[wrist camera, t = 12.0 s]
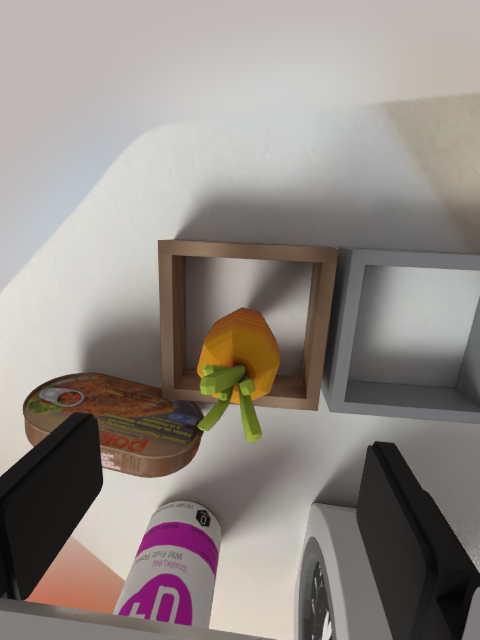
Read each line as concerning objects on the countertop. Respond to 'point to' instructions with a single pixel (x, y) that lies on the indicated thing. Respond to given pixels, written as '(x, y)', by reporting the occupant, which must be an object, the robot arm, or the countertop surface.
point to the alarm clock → (336, 581)
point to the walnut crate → (173, 319)
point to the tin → (120, 421)
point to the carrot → (238, 367)
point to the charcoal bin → (382, 398)
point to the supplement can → (174, 567)
